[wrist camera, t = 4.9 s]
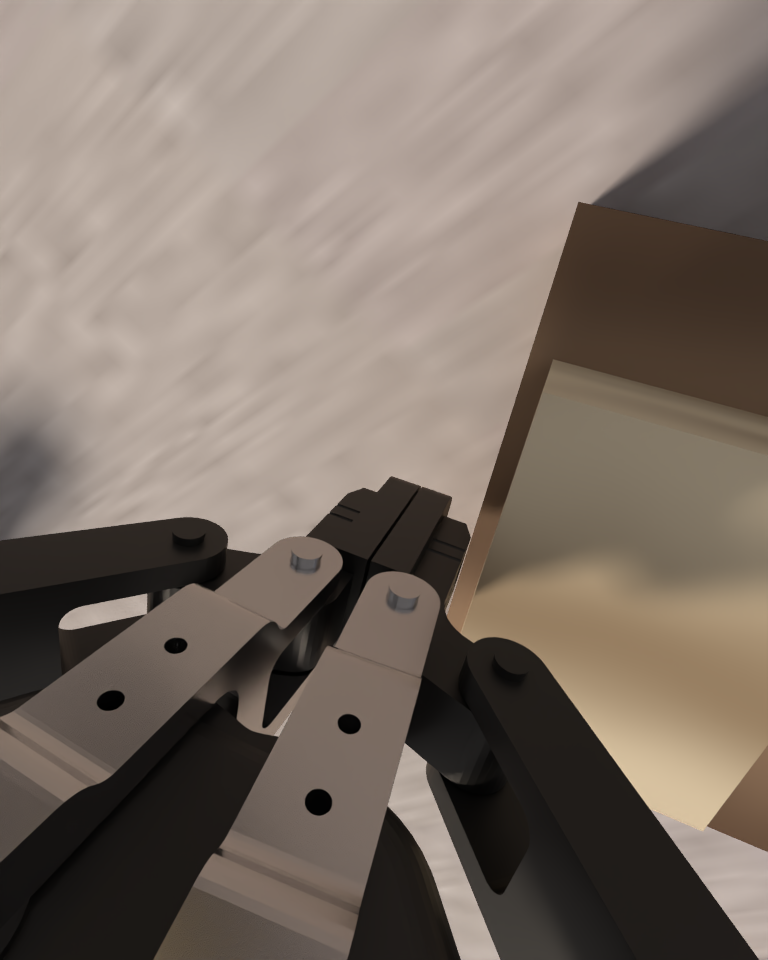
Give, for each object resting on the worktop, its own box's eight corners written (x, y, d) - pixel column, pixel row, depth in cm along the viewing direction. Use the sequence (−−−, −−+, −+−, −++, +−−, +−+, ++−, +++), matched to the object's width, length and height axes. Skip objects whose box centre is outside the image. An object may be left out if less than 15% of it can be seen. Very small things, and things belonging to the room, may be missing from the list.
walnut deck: (581, 211, 14) (578, 202, 11) (1040, 307, 12) (1219, 334, 9) (447, 626, 21) (418, 705, 17) (736, 736, 18) (770, 852, 15)
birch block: (553, 359, 12) (542, 391, 9) (861, 442, 11) (947, 505, 8) (459, 637, 16) (432, 716, 13) (682, 723, 14) (702, 831, 12)
